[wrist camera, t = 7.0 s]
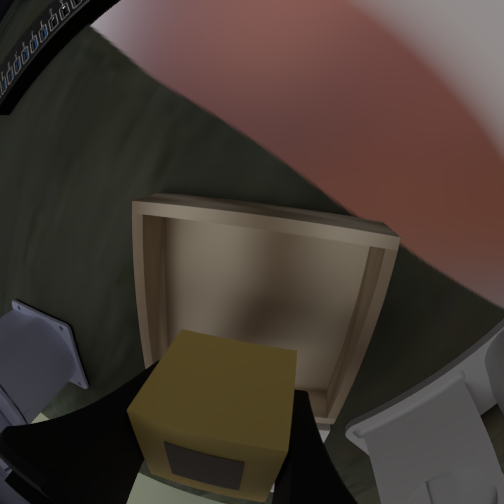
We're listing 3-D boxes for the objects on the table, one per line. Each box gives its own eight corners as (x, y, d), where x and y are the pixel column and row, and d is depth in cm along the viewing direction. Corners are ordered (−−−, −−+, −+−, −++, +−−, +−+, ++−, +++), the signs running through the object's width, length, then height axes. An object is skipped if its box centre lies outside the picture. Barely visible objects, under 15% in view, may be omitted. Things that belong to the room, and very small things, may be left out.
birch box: (166, 361, 19) (149, 387, 17) (160, 192, 15) (132, 200, 13) (331, 392, 18) (333, 424, 15) (382, 222, 14) (400, 237, 11)
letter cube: (186, 401, 12) (150, 474, 8) (181, 328, 11) (125, 411, 6) (278, 420, 12) (264, 503, 7) (297, 350, 10) (287, 453, 6)
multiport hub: (5, 84, 15) (-13, 84, 13) (112, -29, 11) (96, -40, 9) (10, 117, 16) (-8, 117, 14) (125, -3, 12) (107, -15, 10)
